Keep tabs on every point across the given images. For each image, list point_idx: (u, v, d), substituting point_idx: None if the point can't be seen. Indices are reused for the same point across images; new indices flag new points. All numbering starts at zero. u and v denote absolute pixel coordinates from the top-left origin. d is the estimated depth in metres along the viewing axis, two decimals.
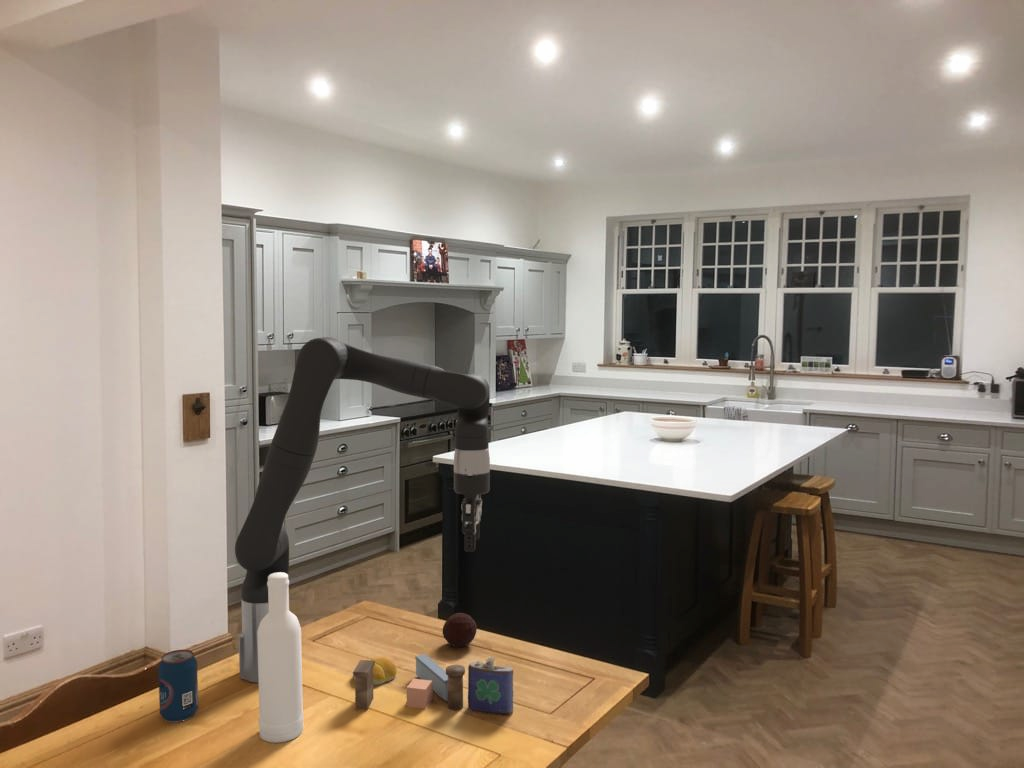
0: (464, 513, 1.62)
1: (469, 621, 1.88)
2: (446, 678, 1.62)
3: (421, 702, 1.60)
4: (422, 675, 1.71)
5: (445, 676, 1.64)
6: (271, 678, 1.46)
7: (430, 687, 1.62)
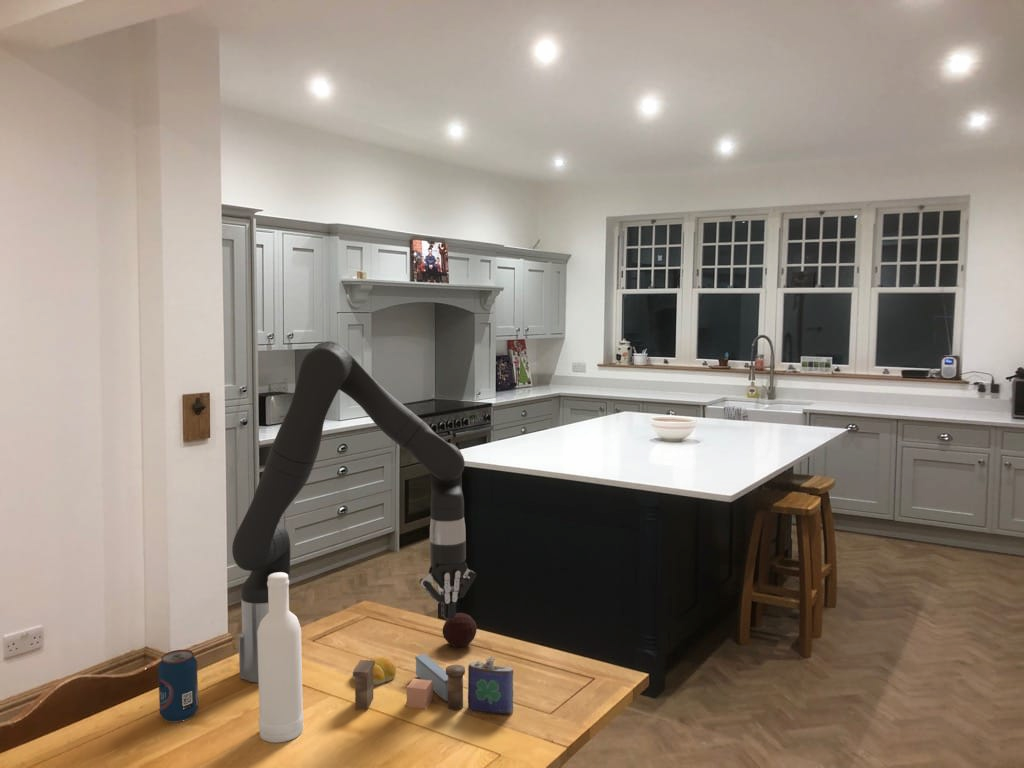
0: None
1: (469, 621, 1.88)
2: (446, 678, 1.62)
3: (421, 702, 1.60)
4: (422, 675, 1.71)
5: (445, 676, 1.64)
6: (271, 678, 1.46)
7: (430, 687, 1.62)
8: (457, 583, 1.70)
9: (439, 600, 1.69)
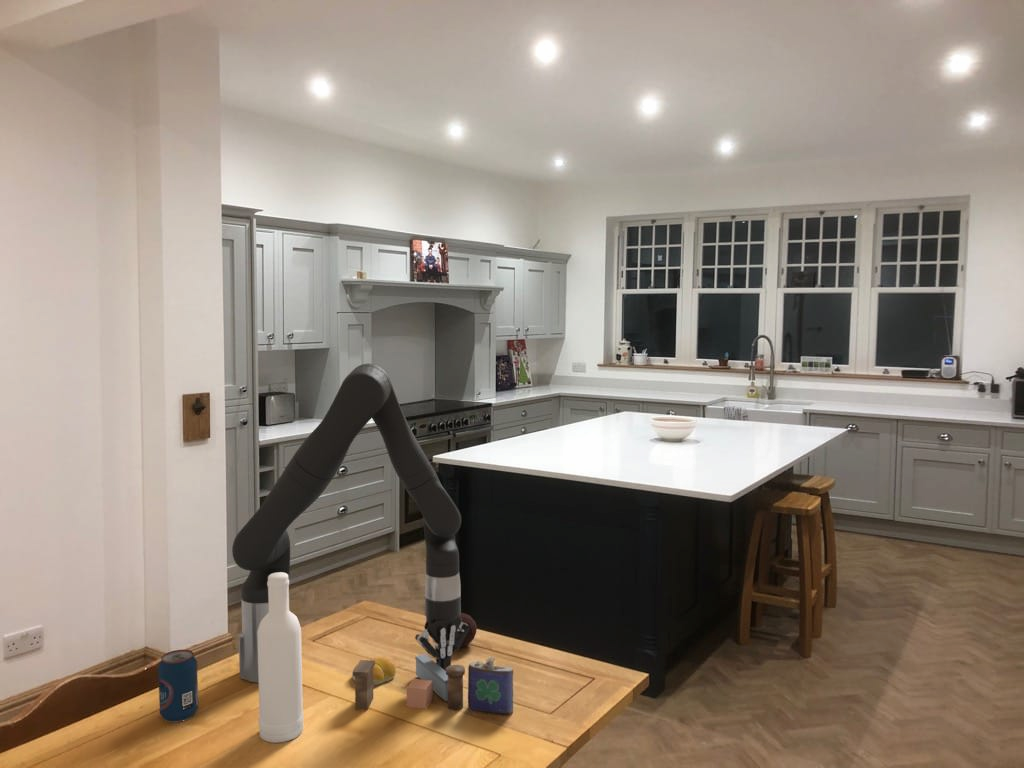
0: None
1: (469, 621, 1.88)
2: (446, 678, 1.62)
3: (421, 702, 1.60)
4: (422, 675, 1.71)
5: (445, 676, 1.64)
6: (271, 678, 1.46)
7: (430, 687, 1.62)
8: (452, 637, 1.71)
9: (435, 655, 1.70)
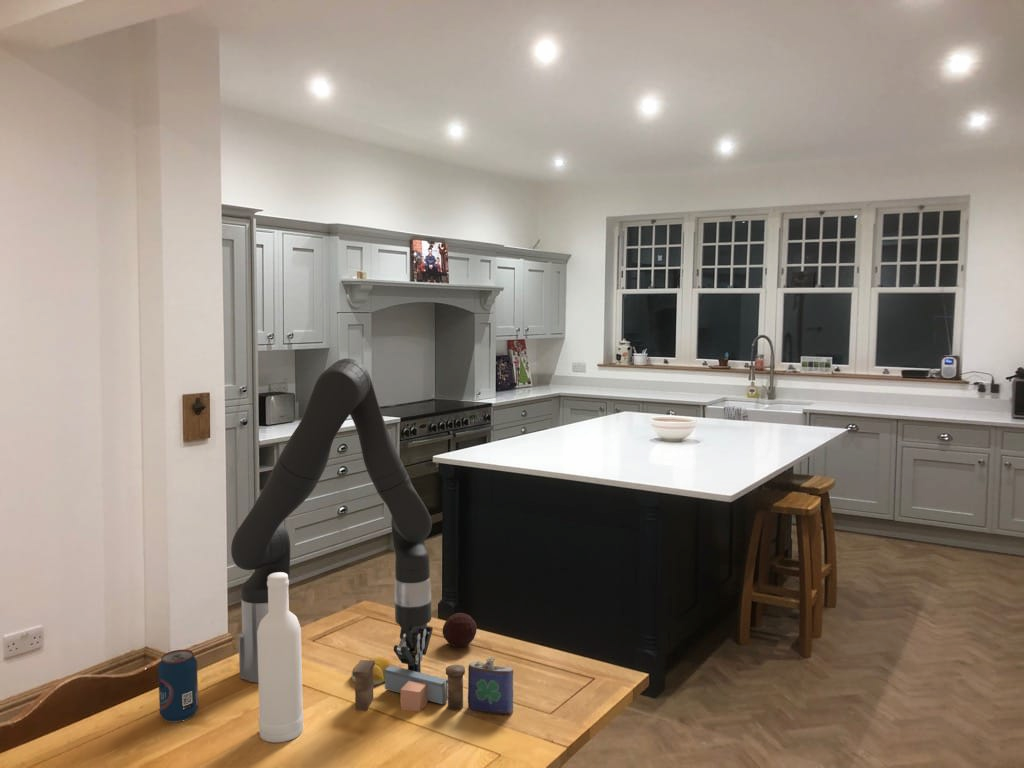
0: None
1: (469, 621, 1.88)
2: (440, 681, 1.61)
3: (415, 704, 1.59)
4: (397, 686, 1.66)
5: (437, 680, 1.62)
6: (271, 678, 1.46)
7: (425, 690, 1.61)
8: (423, 641, 1.69)
9: (412, 663, 1.66)
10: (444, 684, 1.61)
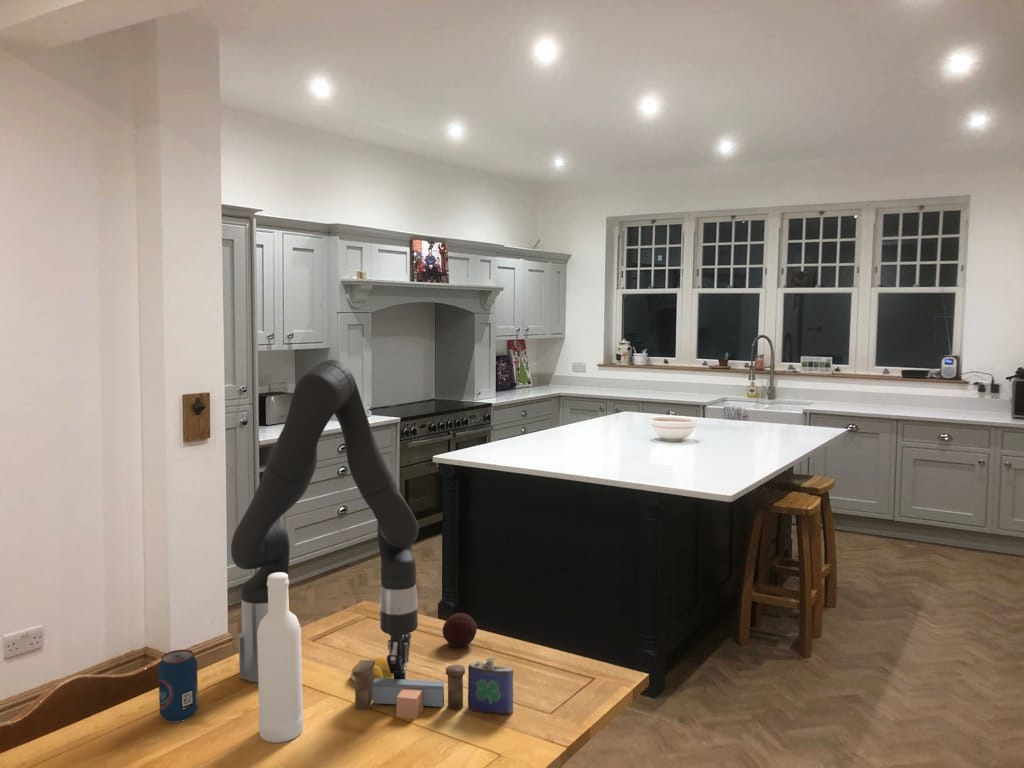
0: None
1: (469, 621, 1.88)
2: (439, 684, 1.60)
3: (411, 712, 1.56)
4: (388, 698, 1.61)
5: (434, 683, 1.60)
6: (271, 678, 1.46)
7: (421, 696, 1.58)
8: (408, 648, 1.65)
9: (403, 671, 1.62)
10: (443, 686, 1.60)
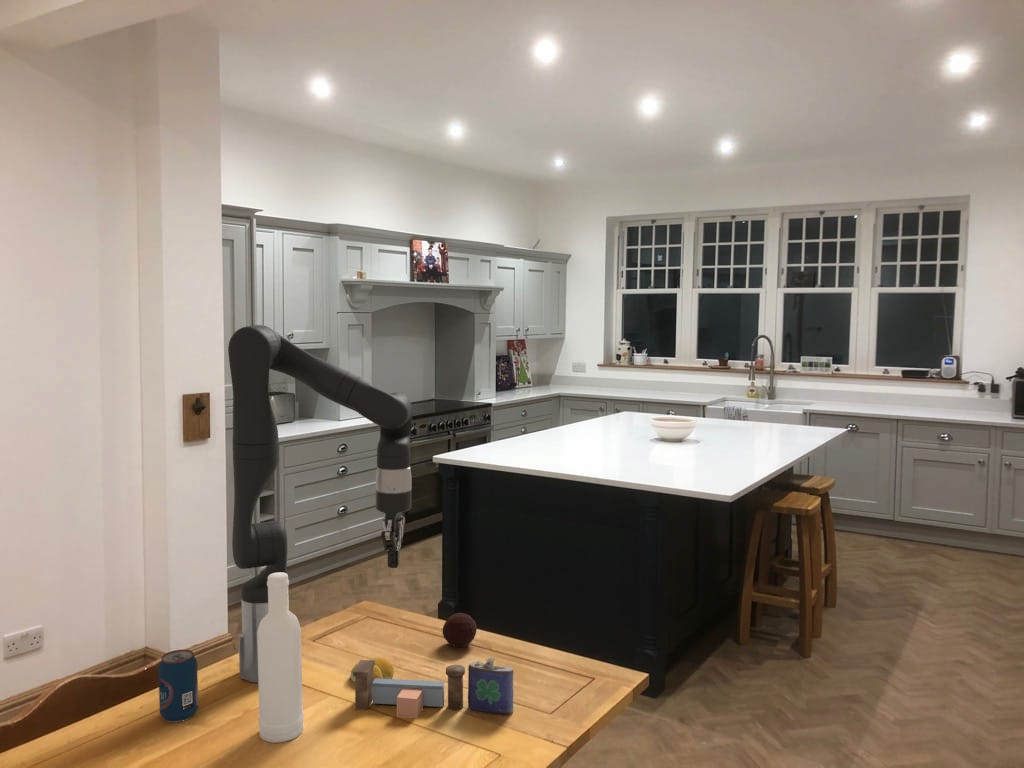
0: None
1: (469, 621, 1.88)
2: (439, 684, 1.60)
3: (412, 712, 1.56)
4: (388, 698, 1.61)
5: (434, 683, 1.60)
6: (271, 678, 1.46)
7: (421, 696, 1.58)
8: (402, 529, 1.74)
9: (396, 548, 1.70)
10: (443, 686, 1.60)
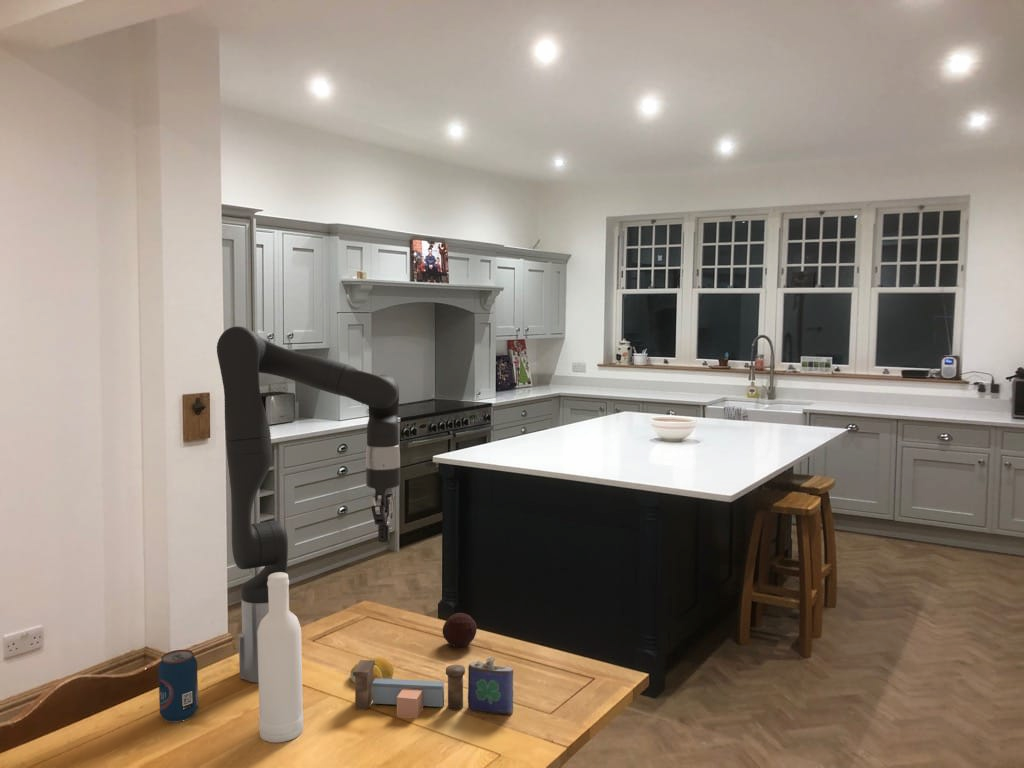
0: None
1: (469, 621, 1.88)
2: (439, 684, 1.60)
3: (412, 712, 1.56)
4: (388, 698, 1.61)
5: (434, 683, 1.60)
6: (271, 678, 1.46)
7: (421, 696, 1.58)
8: (392, 505, 1.82)
9: (386, 523, 1.78)
10: (443, 686, 1.60)
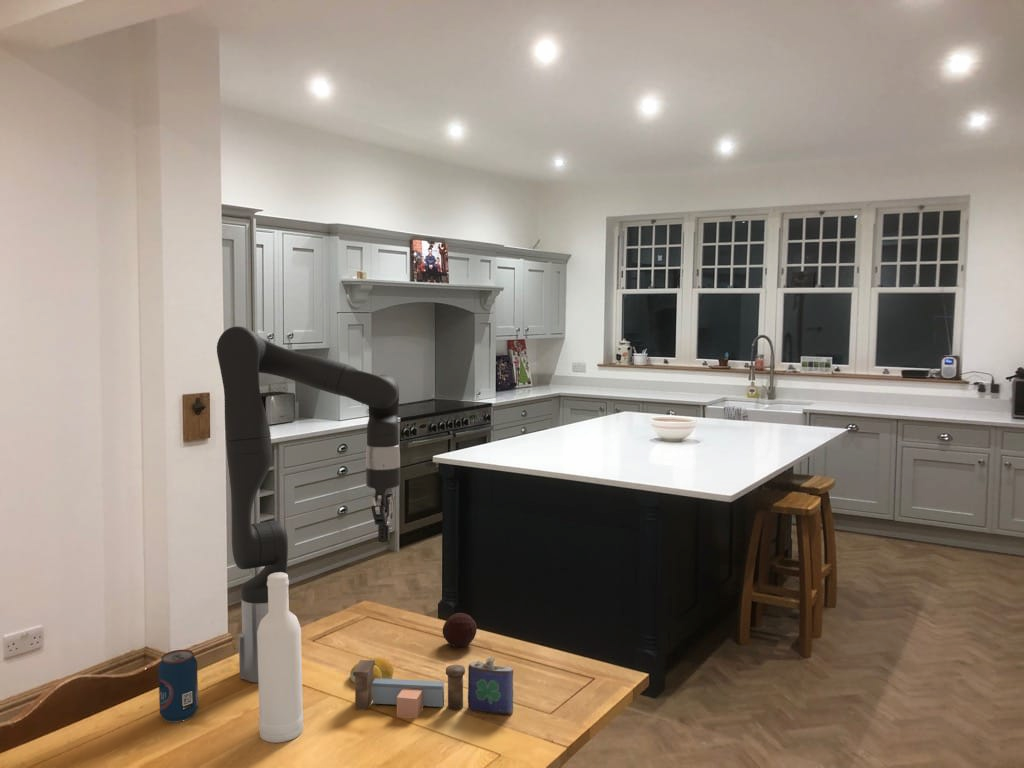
0: None
1: (469, 621, 1.88)
2: (439, 684, 1.60)
3: (412, 712, 1.56)
4: (388, 698, 1.61)
5: (434, 683, 1.60)
6: (271, 678, 1.46)
7: (421, 696, 1.58)
8: (392, 505, 1.82)
9: (386, 523, 1.78)
10: (443, 686, 1.60)
